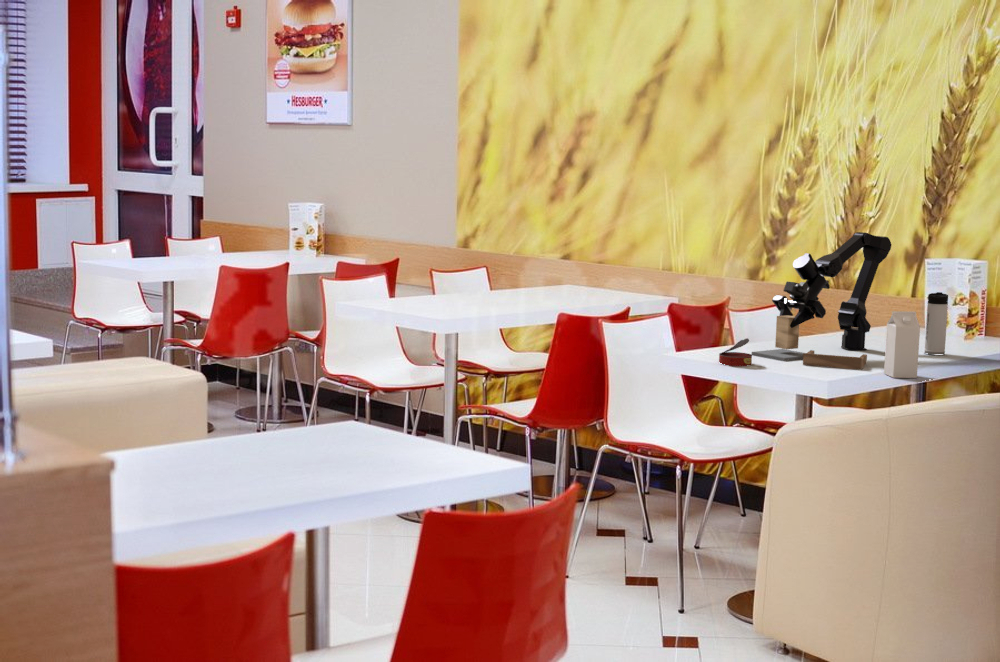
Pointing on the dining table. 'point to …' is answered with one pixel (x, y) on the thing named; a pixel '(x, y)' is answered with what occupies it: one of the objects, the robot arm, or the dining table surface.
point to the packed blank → (786, 333)
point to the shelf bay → (834, 360)
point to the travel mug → (936, 323)
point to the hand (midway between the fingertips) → (784, 325)
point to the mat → (780, 354)
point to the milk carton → (902, 345)
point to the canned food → (736, 356)
